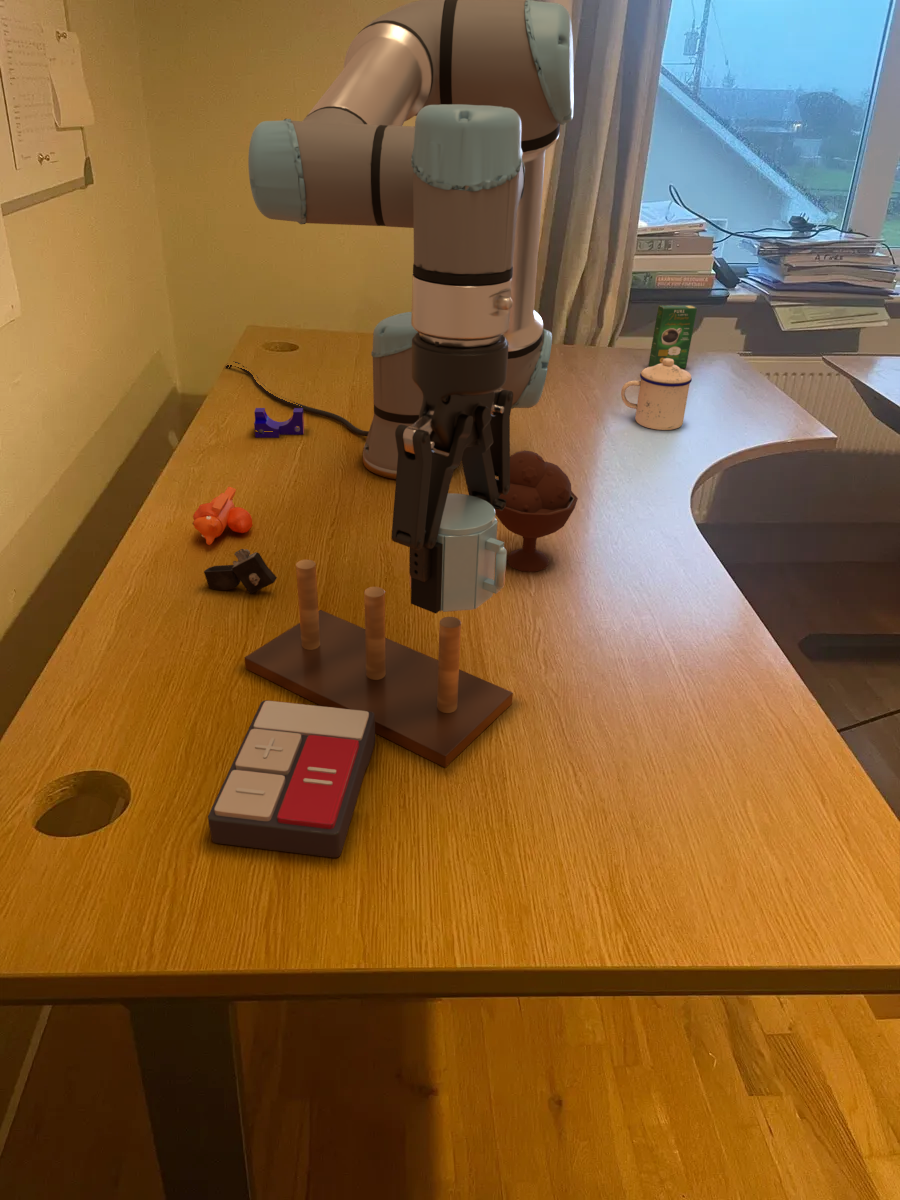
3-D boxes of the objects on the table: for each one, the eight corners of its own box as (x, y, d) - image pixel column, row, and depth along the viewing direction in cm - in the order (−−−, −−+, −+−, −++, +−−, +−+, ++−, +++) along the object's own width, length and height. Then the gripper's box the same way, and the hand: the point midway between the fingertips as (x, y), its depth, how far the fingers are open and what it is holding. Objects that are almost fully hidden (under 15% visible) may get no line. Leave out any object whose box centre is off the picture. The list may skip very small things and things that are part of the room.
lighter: (221, 609, 109) (195, 576, 107) (228, 601, 111) (202, 568, 109) (271, 585, 106) (245, 550, 104) (277, 577, 107) (252, 542, 105)
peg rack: (245, 668, 95) (234, 575, 89) (320, 620, 103) (316, 532, 97) (445, 768, 82) (448, 667, 76) (512, 703, 91) (520, 608, 85)
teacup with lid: (682, 416, 167) (692, 354, 161) (685, 433, 159) (696, 368, 153) (617, 410, 168) (625, 349, 162) (617, 427, 160) (626, 363, 154)
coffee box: (681, 365, 195) (692, 303, 188) (687, 369, 193) (698, 306, 186) (647, 366, 193) (656, 304, 186) (653, 370, 191) (662, 307, 184)
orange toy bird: (215, 473, 124) (188, 511, 113) (267, 492, 125) (245, 531, 114) (207, 504, 126) (181, 543, 116) (258, 522, 127) (236, 562, 117)
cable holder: (255, 437, 151) (253, 414, 149) (257, 430, 154) (255, 407, 152) (302, 437, 152) (301, 415, 150) (304, 430, 155) (302, 408, 153)
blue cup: (395, 593, 80) (395, 513, 76) (441, 563, 85) (443, 486, 81) (479, 627, 76) (484, 544, 71) (522, 592, 81) (529, 513, 76)
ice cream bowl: (502, 587, 111) (510, 476, 103) (476, 546, 120) (482, 440, 112) (581, 578, 113) (595, 468, 106) (550, 538, 123) (560, 435, 115)
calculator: (204, 812, 72) (261, 692, 84) (211, 848, 74) (265, 726, 86) (337, 828, 71) (375, 704, 83) (340, 864, 73) (376, 738, 85)
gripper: (423, 373, 60) (418, 653, 72) (565, 317, 74) (542, 558, 86) (337, 352, 63) (347, 622, 75) (489, 302, 78) (477, 536, 89)
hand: (451, 588), depth 81 cm, fingers closed on blue cup, 7 cm apart
